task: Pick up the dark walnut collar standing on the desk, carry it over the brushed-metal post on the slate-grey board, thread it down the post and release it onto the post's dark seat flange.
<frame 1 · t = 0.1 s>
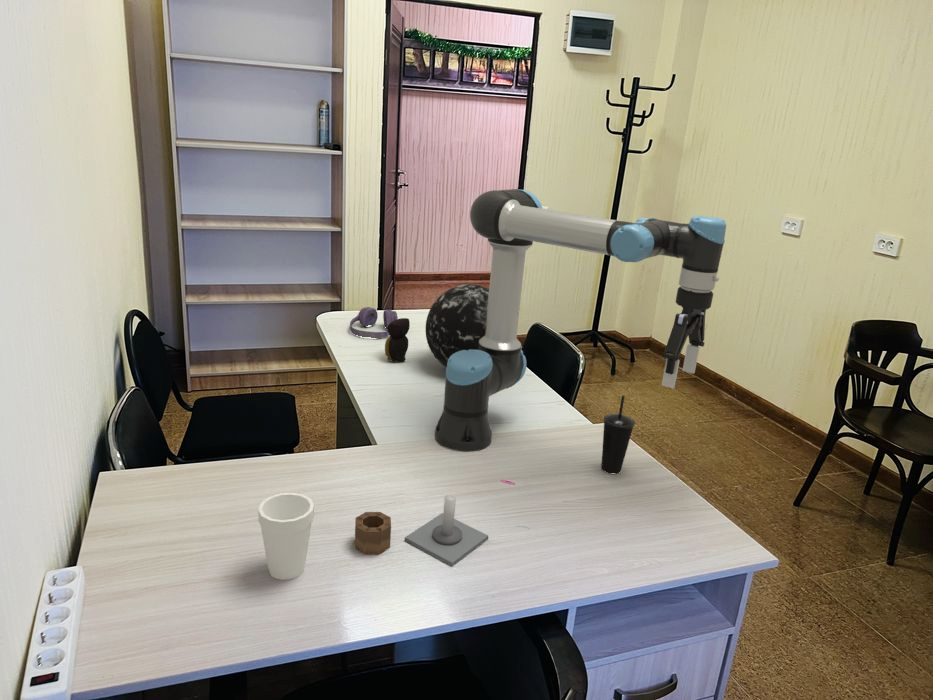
hand: (678, 379, 152), 28 cm above the table, fingers open, 13 cm apart
headphones: (373, 332, 260), on the table
drinking cup: (610, 470, 168), on the table
collar: (372, 543, 130), on the table
foam cup: (287, 569, 121), on the table
figurine: (396, 361, 231), on the table
globe: (466, 371, 226), on the table
post: (446, 539, 134), on the table
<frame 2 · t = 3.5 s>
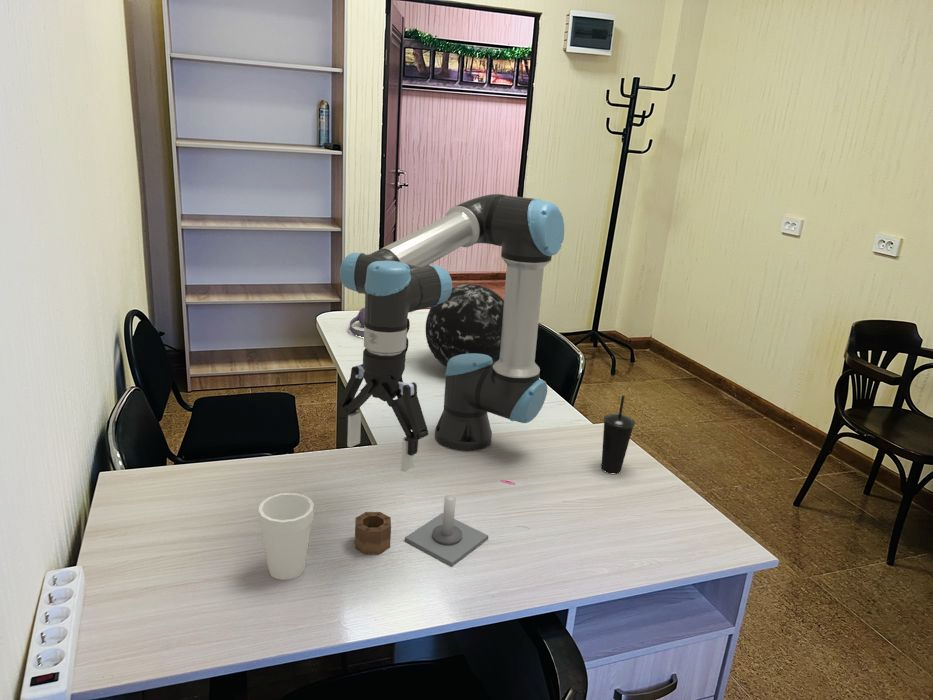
hand: (379, 456, 125), 19 cm above the table, fingers open, 13 cm apart
nothing on the table moved.
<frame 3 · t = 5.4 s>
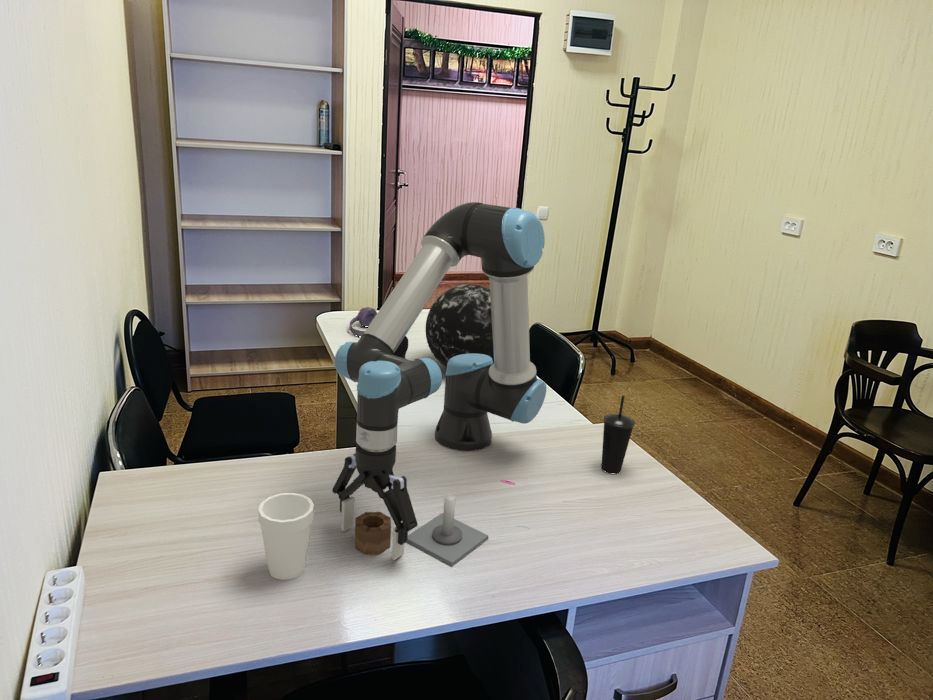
hand: (371, 541, 130), 1 cm above the table, fingers open, 13 cm apart
nothing on the table moved.
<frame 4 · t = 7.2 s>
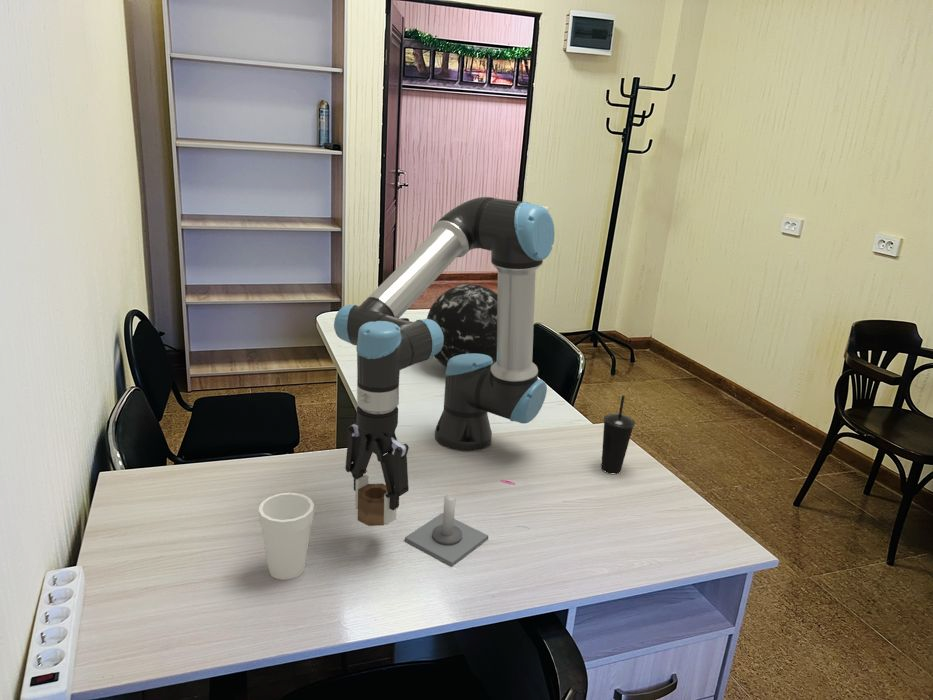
hand: (375, 513, 129), 6 cm above the table, fingers closed on collar, 7 cm apart
collar: (375, 515, 129), point 6 cm above the table, touching gripper
everything else where it was.
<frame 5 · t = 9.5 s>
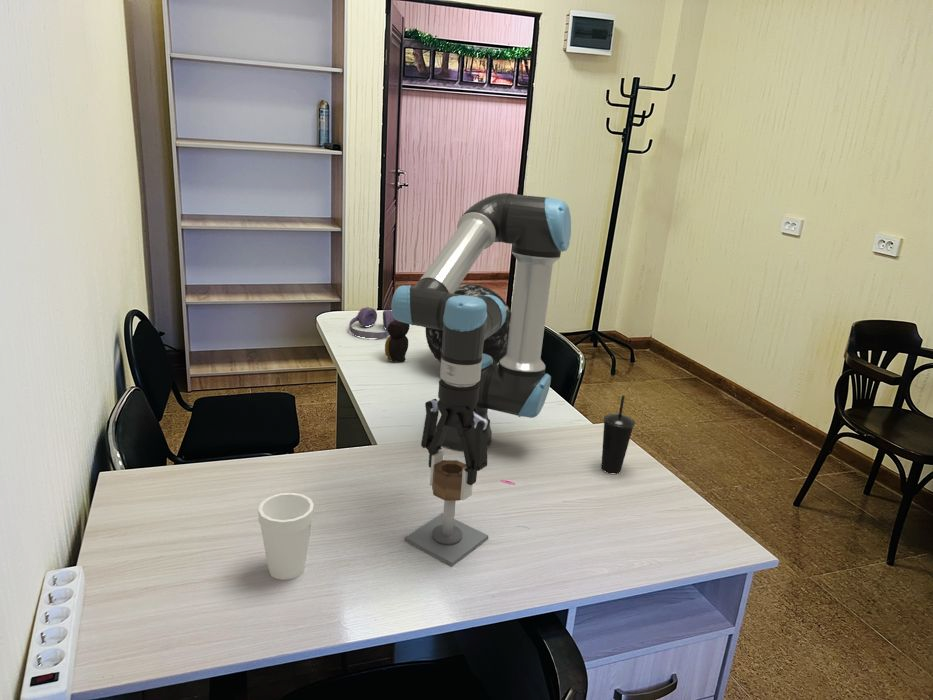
hand: (450, 490, 130), 12 cm above the table, fingers closed on collar, 7 cm apart
collar: (450, 491, 130), point 11 cm above the table, touching gripper
everything else where it was.
when the fingers open (2 cm above the table, at t = 11.8 s): collar stays where it is, resting on post.
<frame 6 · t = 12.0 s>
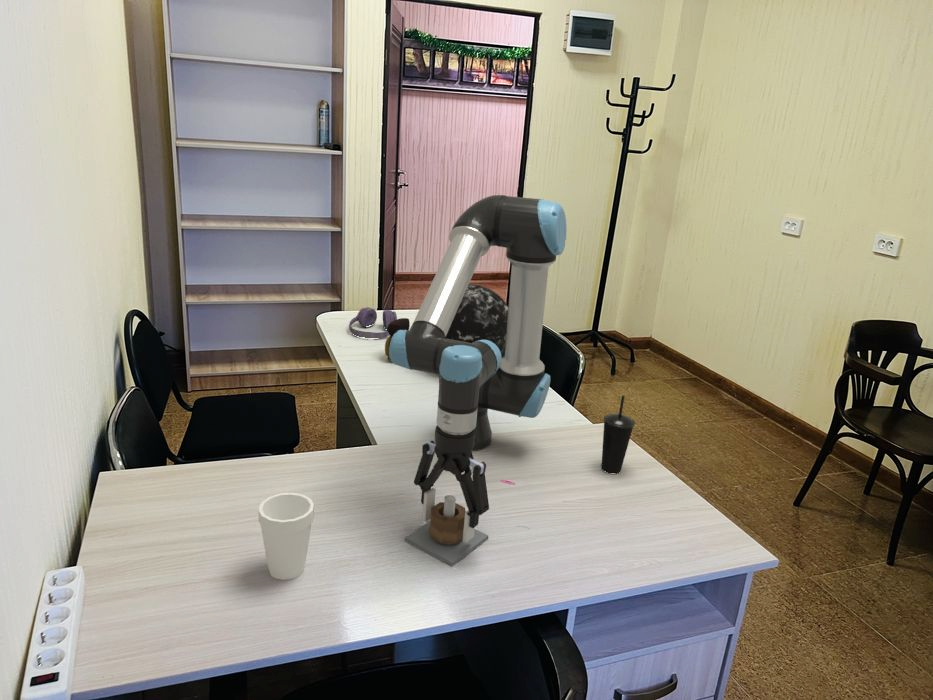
hand: (447, 528, 133), 3 cm above the table, fingers open, 9 cm apart
collar: (447, 533, 133), point 2 cm above the table, touching post
everything else where it was.
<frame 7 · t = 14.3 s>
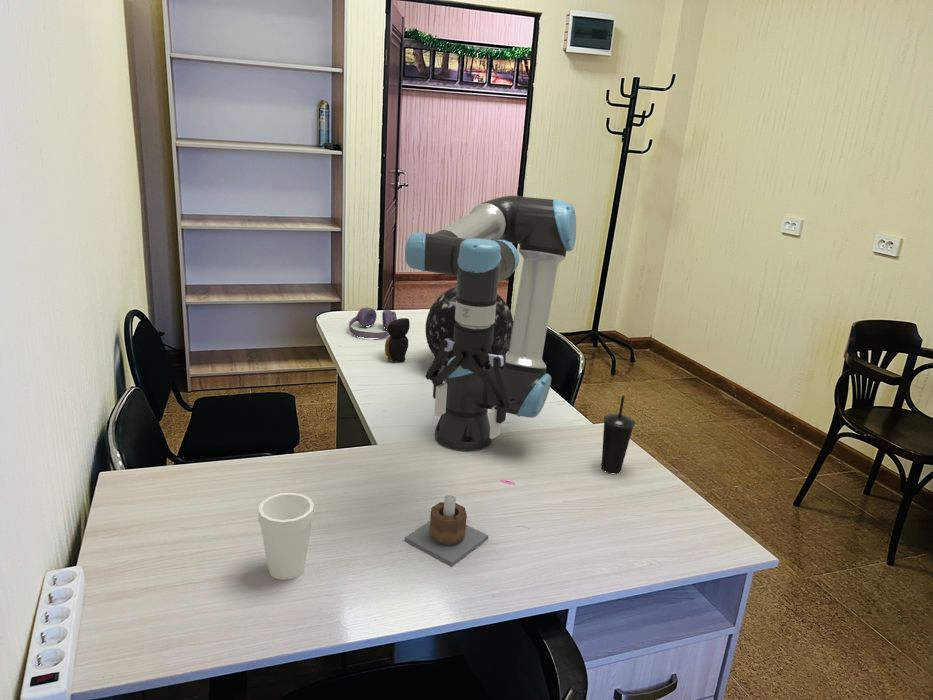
hand: (466, 425, 132), 23 cm above the table, fingers open, 13 cm apart
nothing on the table moved.
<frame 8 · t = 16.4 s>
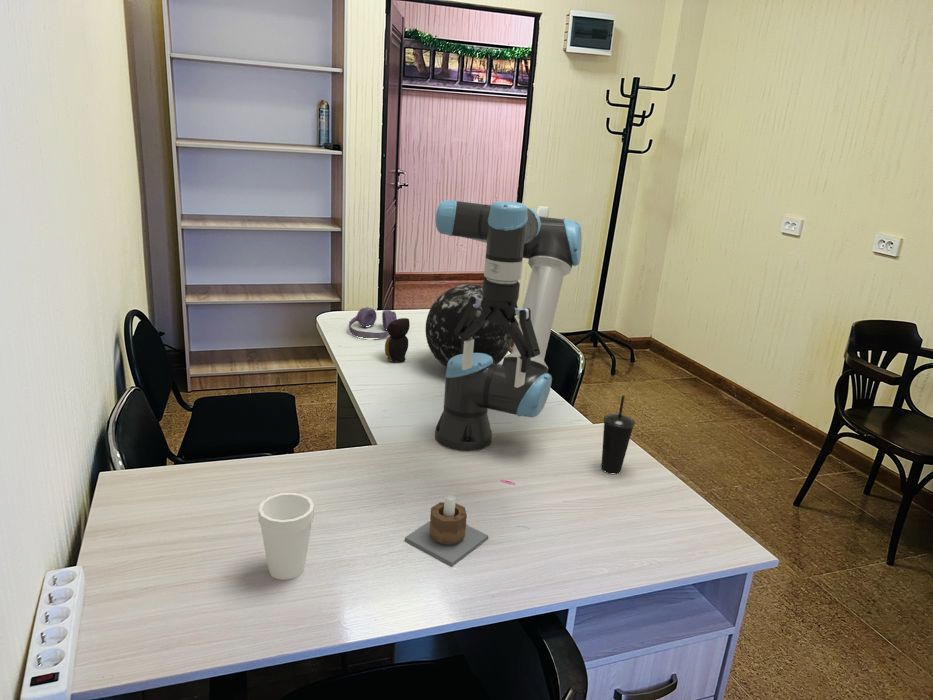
hand: (492, 377, 142), 29 cm above the table, fingers open, 13 cm apart
nothing on the table moved.
at the end: collar 0.1 cm from the post (horizontally); collar point 1.6 cm above the table; the gripper is holding nothing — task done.
